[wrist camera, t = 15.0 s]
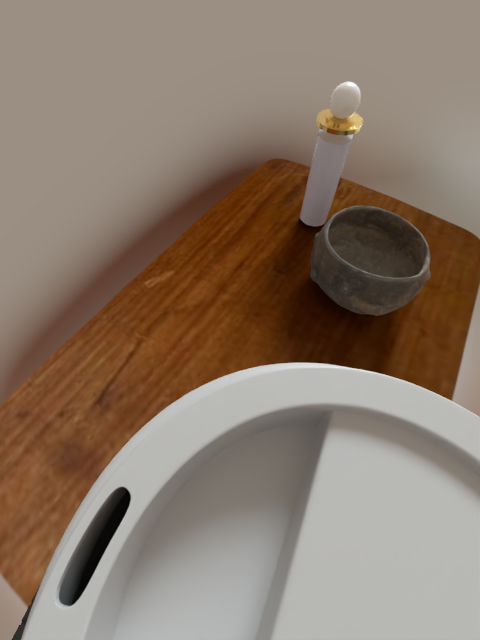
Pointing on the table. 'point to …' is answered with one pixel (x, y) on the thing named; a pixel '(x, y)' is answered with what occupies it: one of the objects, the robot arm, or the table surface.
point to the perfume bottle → (331, 152)
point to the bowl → (370, 260)
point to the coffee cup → (279, 518)
